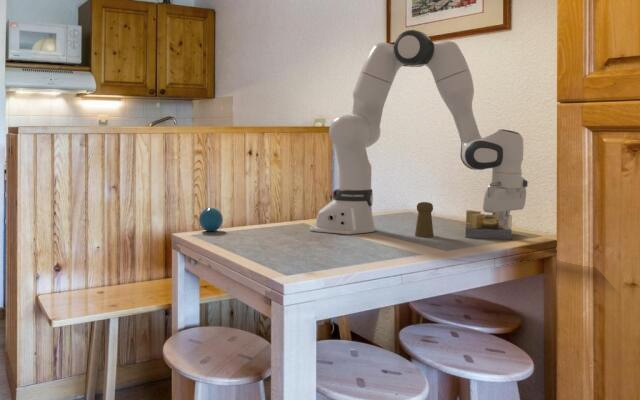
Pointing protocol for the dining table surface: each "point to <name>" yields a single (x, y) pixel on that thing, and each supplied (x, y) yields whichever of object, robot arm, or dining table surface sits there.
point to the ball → (210, 219)
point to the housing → (488, 232)
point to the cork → (424, 220)
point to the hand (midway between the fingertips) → (502, 225)
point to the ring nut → (486, 220)
